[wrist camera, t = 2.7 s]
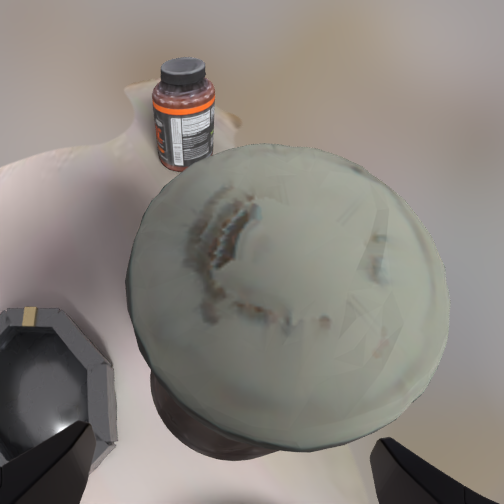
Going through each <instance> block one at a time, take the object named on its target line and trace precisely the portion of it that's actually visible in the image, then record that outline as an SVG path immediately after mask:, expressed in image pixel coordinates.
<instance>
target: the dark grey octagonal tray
mask: <svg viewBox="0 0 504 504" xmlns="http://www.w3.org/2000/svg"><path fill="white" fill-rule="evenodd" d="M111 365H112V364H111V363H110V362H109V361H108V360H107V359H106V358H105V357H104V356H103V355H102V354H101V353H100V352H99V350H98V349H97V348H96V347H95V346H94V345H93V344H92V342H91V341H90V340H89V339H88V338H87V337H86V336H85V335H84V334H83V333H82V331H81V330H80V329H79V328H78V327H77V325H76V324H75V323H74V322H73V321H72V319H71V318H70V317H69V316H68V315H67V314H66V313H65V312H64V311H63V310H60V309H59V308H37V307H25V308H24V309H18V308H7V312H6V311H5V310H4V311H3V312H2V313H1V314H0V466H1V467H2V465H4V464H6V463H7V462H9V461H11V460H13V459H14V458H16V457H18V456H20V455H21V454H23V453H25V452H26V451H28V450H30V449H32V448H33V447H35V446H37V445H38V444H40V443H42V442H43V441H45V440H47V439H48V438H50V437H52V436H53V435H55V434H56V433H58V432H60V431H61V430H63V429H65V428H66V427H68V426H69V425H71V424H73V423H74V422H76V421H78V420H81V421H85V422H89V423H90V424H91V425H92V428H93V432H94V435H95V438H96V448H95V452H94V456H93V460H92V464H91V468H90V472H89V474H90V473H91V472H93V471H94V470H95V469H96V468H97V467H98V466H99V465H100V463H101V462H102V461H103V460H104V458H105V457H106V456H107V455H108V454H109V453H110V452H111V451H112V450H113V449H114V448H115V447H116V445H115V444H114V443H113V442H112V441H118V437H117V426H116V420H117V403H116V394H115V390H114V369H113V368H111V367H110V366H111Z"/></svg>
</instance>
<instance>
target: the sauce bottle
mask: <svg viewBox="0 0 504 504" xmlns="http://www.w3.org/2000/svg"><path fill="white" fill-rule="evenodd" d="M125 285H126V297H127V307H128V312H129V315H130V318H131V321H132V324H133V328H134V332H135V336H136V339H137V343H138V347H139V350H140V352H141V354H142V356H143V357H144V359H145V361H146V362H147V364H148V366H149V367H150V369H151V375H150V383H151V393H152V397H153V401H154V404H155V406H156V409H157V411H158V414H159V415H160V417H161V419H162V421H163V422H164V424H165V425H166V427H167V428H168V429H169V430H170V431H171V432H172V434H173V435H174V436H175V437H176V438H178V439H179V440H180V441H181V442H182V443H183V444H185V445H186V446H188V447H189V448H191V449H193V450H195V451H196V452H198V453H201V454H203V455H206V456H209V457H212V458H215V459H220V460H228V461H241V460H250V459H254V458H257V457H261V456H264V455H267V454H270V453H273V452H276V451H279V450H281V451H291V452H314V451H318V450H323V449H327V448H332V447H337V446H341V445H345V444H347V443H350V442H352V441H355V440H357V439H360V438H362V437H365V436H367V435H369V434H372V433H374V432H376V431H378V430H379V429H381V428H383V427H384V426H386V425H388V424H390V423H391V422H393V421H394V420H396V419H397V418H398V417H399V416H400V415H401V414H402V413H403V412H404V411H405V410H406V409H407V408H408V407H409V405H410V404H411V403H412V402H414V401H415V400H416V399H417V398H418V397H420V396H421V394H422V393H423V392H424V391H425V389H426V388H427V386H428V385H429V383H430V381H431V379H432V377H433V375H434V373H435V371H436V370H437V368H438V366H439V363H440V360H441V357H442V355H443V352H444V349H445V346H446V343H447V338H448V332H449V311H450V303H451V302H450V297H449V292H448V287H447V283H446V274H445V266H444V264H443V262H442V260H441V258H440V255H439V253H438V251H437V249H436V246H435V244H434V241H433V239H432V237H431V235H430V233H429V232H428V231H427V229H426V228H425V227H424V225H423V224H422V222H421V221H420V219H419V218H418V217H417V215H416V214H415V212H414V211H413V210H412V209H411V207H410V206H409V205H408V203H407V202H406V201H405V200H404V199H403V198H402V197H401V196H399V195H398V194H397V193H396V192H394V191H393V190H392V189H391V188H390V187H388V186H387V185H386V184H384V183H383V182H382V181H380V180H379V179H378V178H376V177H374V176H373V175H371V174H370V173H369V172H368V171H367V170H366V169H364V168H363V167H362V166H360V165H358V164H356V163H354V162H351V161H349V160H347V159H345V158H343V157H340V156H338V155H335V154H332V153H329V152H325V151H323V150H320V149H316V148H308V147H290V146H284V145H279V144H265V143H264V144H251V145H246V146H242V147H237V148H233V149H229V150H226V151H223V152H220V153H217V154H215V155H212V156H209V157H207V158H205V159H202V160H200V161H198V162H195V163H193V164H192V165H190V166H189V167H188V168H187V169H185V170H184V171H183V172H181V173H180V174H179V175H178V176H176V177H175V178H174V179H173V180H171V181H170V182H169V183H168V184H166V185H165V186H164V187H163V188H162V190H161V191H160V193H159V194H158V195H157V196H156V197H155V198H154V199H153V200H152V201H151V203H150V205H149V206H148V208H147V210H146V212H145V213H144V215H143V218H142V221H141V224H140V228H139V230H138V232H137V235H136V237H135V240H134V243H133V247H132V251H131V255H130V260H129V264H128V269H127V274H126V279H125Z"/></svg>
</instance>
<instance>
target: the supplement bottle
mask: <svg viewBox="0 0 504 504" xmlns="http://www.w3.org/2000/svg"><path fill="white" fill-rule="evenodd" d="M205 75H206V73H205V63H204V62H203V61H202V60H200V59H197V58H192V57H183V58H176V59H172V60H169V61H166V62H165V63H163V65H162V66H161V82H159V83H158V84H157V85H156V86H155V88H154V89H153V93H152V99H153V111H154V119H155V127H156V136H157V143H158V153H159V156H160V160H161V162H162V163H163V165H165V166H166V167H167V168H169V169H170V170H174V171H179V172H183V171H184V170H185V169H187V168H188V167H189V166H190V165H192V164H193V163H195V162H198V161H200V160H202V159H205V158H207V157H209V156H212V154H213V135H214V106H215V89H214V86H213V84H212V82H211V81H209V80H208V79H207V78H205Z"/></svg>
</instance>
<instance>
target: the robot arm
mask: <svg viewBox="0 0 504 504" xmlns="http://www.w3.org/2000/svg"><path fill="white" fill-rule="evenodd" d="M95 448H96V438H95V435H94V432H93V428H92V425H91V424H90V423H89V422H85V421H81V420H78V421H76V422H74V423H73V424H71V425H69V426H68V427H66V428H65V429H63V430H61V431H60V432H58V433H56V434H55V435H53V436H52V437H50V438H48V439H47V440H45V441H43V442H42V443H40V444H38V445H37V446H35V447H33V448H32V449H30V450H28V451H26V452H25V453H23V454H21V455H20V456H18V457H16V458H14V459H13V460H11V461H9V462H7V463H6V464H4V465H2V467H1V466H0V504H79V503H80V501H81V498H82V495H83V492H84V490H85V487H86V484H87V481H88V477H89V472H90V468H91V464H92V460H93V456H94V452H95ZM370 463H371V468H372V473H373V478H374V484H375V489H376V494H377V498H378V501H379V504H499V503H496V502H494V501H492V500H490V499H488V498H486V497H483V496H481V495H479V494H478V493H476V492H474V491H472V490H471V489H469V488H467V487H466V486H464V485H462V484H461V483H459V482H458V481H456V480H454V479H453V478H451V477H450V476H448V475H446V474H445V473H443V472H442V471H440V470H438V469H437V468H435V467H434V466H432V465H431V464H429V463H428V462H426V461H425V460H423V459H422V458H420V457H419V456H417V455H416V454H414V453H413V452H411V451H410V450H409V449H407V448H405V447H404V446H403V445H401V444H400V443H398V442H397V441H395V440H394V439H392V438H391V437H386V438H380V439H379V440H378V441H377V442H376V444H375V446H374V448H373V450H372V452H371V455H370Z"/></svg>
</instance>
